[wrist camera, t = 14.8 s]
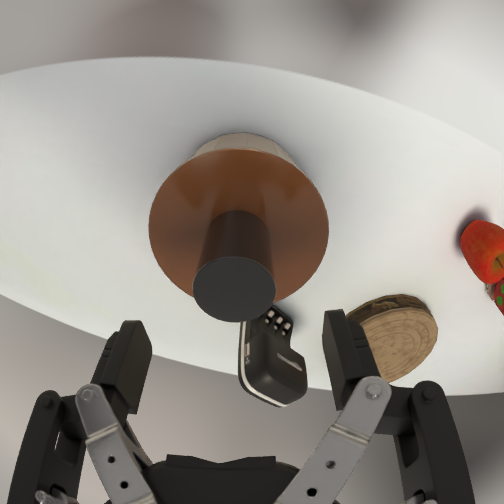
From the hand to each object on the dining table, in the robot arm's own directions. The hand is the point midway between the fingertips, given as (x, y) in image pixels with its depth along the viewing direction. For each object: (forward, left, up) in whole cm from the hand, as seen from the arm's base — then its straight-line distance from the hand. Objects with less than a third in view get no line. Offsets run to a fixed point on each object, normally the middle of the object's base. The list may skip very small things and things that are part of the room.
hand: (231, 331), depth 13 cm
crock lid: (0, 0, -9) cm, 9 cm away
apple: (+6, +27, -18) cm, 33 cm away
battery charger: (+15, +2, -18) cm, 23 cm away
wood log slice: (+22, +17, -18) cm, 33 cm away
